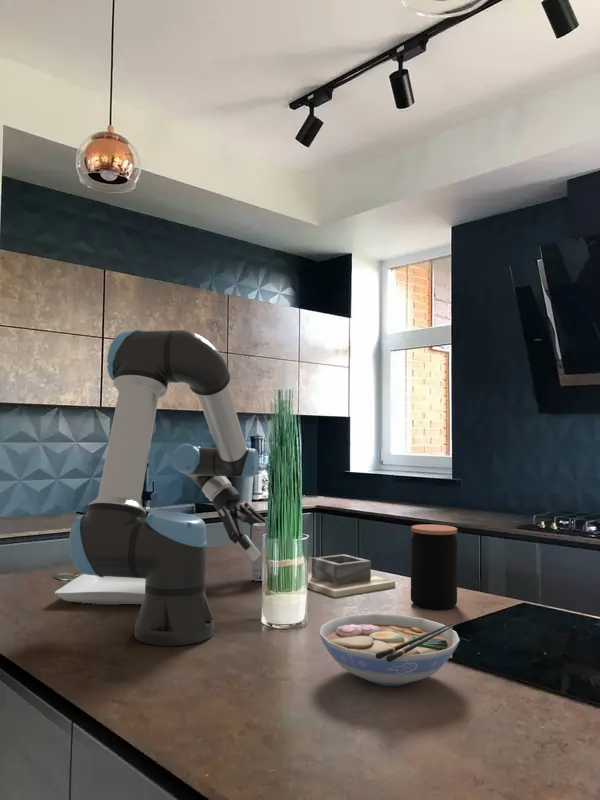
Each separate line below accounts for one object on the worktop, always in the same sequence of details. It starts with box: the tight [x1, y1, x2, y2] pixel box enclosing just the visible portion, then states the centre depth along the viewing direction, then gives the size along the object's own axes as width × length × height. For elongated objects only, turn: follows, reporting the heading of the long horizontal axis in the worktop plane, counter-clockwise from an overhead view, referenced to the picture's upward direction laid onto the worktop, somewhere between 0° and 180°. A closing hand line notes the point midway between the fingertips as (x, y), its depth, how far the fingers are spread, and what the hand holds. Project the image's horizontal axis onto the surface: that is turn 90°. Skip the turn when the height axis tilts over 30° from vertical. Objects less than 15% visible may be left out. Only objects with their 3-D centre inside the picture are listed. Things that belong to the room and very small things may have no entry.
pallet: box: [307, 553, 396, 598], centre depth 175 cm, size 20×20×6 cm
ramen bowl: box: [318, 613, 461, 687], centre depth 109 cm, size 25×23×8 cm
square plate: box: [53, 573, 145, 605], centre depth 162 cm, size 27×27×4 cm
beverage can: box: [250, 523, 265, 582], centre depth 179 cm, size 6×6×15 cm
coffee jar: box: [410, 523, 458, 612], centre depth 156 cm, size 11×11×18 cm
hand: (269, 553), depth 178 cm, fingers open, 13 cm apart
